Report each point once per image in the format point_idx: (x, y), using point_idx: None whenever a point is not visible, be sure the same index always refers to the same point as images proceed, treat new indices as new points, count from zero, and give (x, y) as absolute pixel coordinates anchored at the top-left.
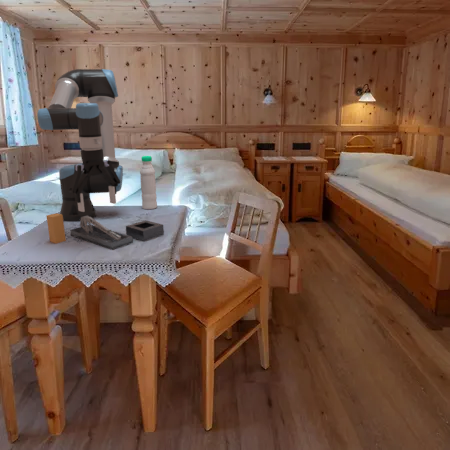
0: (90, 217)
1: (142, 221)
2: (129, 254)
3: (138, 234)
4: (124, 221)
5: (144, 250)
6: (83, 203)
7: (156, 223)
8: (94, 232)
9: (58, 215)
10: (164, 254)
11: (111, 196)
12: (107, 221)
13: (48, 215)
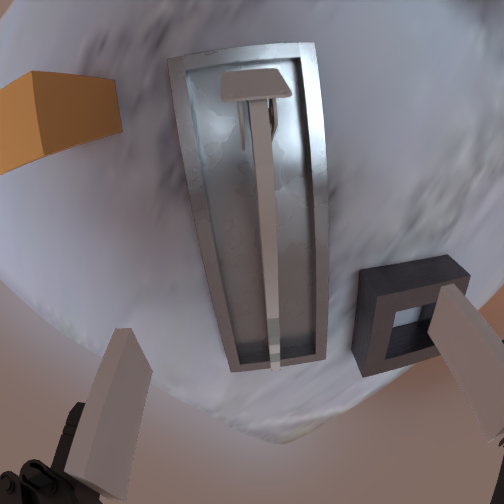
0: (267, 175)
1: (455, 281)
2: (247, 400)
3: (360, 344)
4: (475, 80)
5: (295, 399)
6: (137, 424)
7: None
8: (281, 136)
9: (21, 155)
10: (305, 427)
11: (462, 349)
12: (430, 9)
13: None
